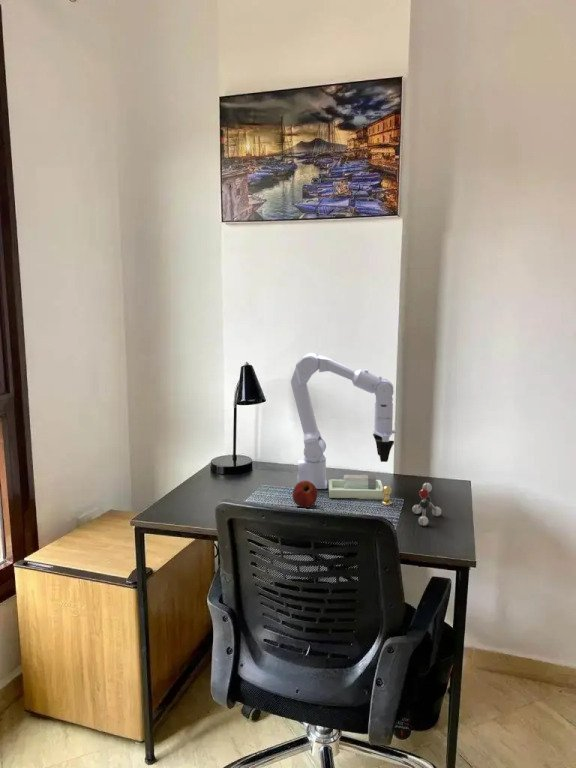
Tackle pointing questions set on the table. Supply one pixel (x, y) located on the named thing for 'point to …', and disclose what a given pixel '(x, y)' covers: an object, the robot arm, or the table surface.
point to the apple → (305, 494)
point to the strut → (360, 482)
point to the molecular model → (425, 504)
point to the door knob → (386, 495)
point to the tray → (354, 491)
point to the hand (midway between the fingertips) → (382, 458)
